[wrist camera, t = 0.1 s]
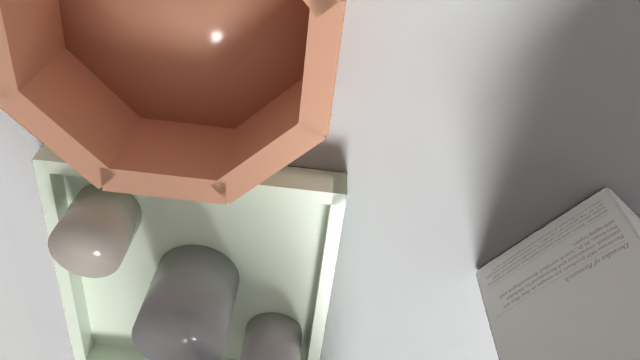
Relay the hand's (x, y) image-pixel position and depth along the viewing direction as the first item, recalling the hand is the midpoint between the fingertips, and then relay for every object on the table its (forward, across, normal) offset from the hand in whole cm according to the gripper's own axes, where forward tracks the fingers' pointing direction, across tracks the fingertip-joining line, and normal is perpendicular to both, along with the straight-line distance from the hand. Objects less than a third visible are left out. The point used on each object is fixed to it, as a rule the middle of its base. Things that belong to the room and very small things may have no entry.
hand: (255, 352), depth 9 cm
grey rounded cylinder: (+14, +4, +13) cm, 19 cm away
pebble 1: (+14, +8, +9) cm, 19 cm away
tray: (+15, +4, +13) cm, 20 cm away
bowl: (+14, +4, 0) cm, 15 cm away
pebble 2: (+14, 0, +16) cm, 21 cm away
